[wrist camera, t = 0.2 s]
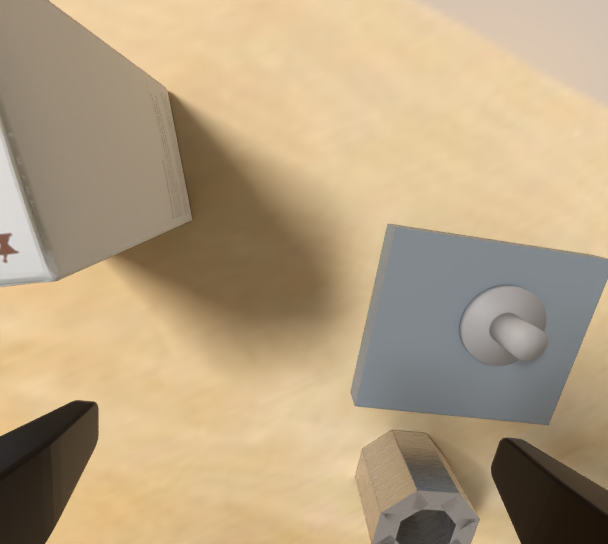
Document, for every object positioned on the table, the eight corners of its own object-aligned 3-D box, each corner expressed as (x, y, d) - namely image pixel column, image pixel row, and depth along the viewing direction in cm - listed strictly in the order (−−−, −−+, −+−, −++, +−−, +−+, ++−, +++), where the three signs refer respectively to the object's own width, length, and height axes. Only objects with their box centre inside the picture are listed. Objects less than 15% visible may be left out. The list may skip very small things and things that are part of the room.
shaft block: (533, 410, 25) (582, 456, 21) (350, 392, 24) (364, 437, 20) (593, 255, 22) (664, 272, 18) (387, 223, 21) (413, 235, 17)
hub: (428, 501, 27) (460, 571, 22) (350, 496, 26) (365, 567, 22) (449, 435, 25) (488, 495, 21) (367, 427, 25) (387, 488, 20)
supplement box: (170, 84, 18) (-59, -105, 6) (195, 223, 20) (62, 292, 8) (29, 97, 18) (-511, -75, 6) (68, 235, 20) (-268, 327, 8)
